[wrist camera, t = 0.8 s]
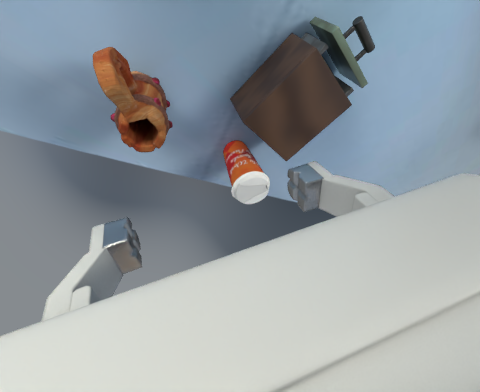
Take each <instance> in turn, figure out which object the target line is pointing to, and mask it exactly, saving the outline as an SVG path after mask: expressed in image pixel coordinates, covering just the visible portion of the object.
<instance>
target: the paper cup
mask: <svg viewBox="0 0 480 392" xmlns="http://www.w3.org/2000/svg"><path fill="white" fill-rule="evenodd" d="M223 154H224V159H225V163H226V166H227V170H228V174H229V177H230V181H231V185H232V189H231V193H232V196H233V197H235V198H236V199H237V200H239V201H241V202H242V203H244V204H253V203H256V202H259V201H261V200H262V199H263V198H264V197H265V196H266V195H267V194H268V192H269V186H270V180H269V178H268V176H267V175H266V174H264V172H263V171H262V169H261V168H260V166H259V165H258V163H257V161H256V160H255V158H254V157H253V155H252V154H251V152H250V151H249V149H248V147H247V146H246V145H245V144H244V143H243V142H242V141H232V142H230V143H228V144H227V145H226V146H225V148H224V151H223Z"/></svg>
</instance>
